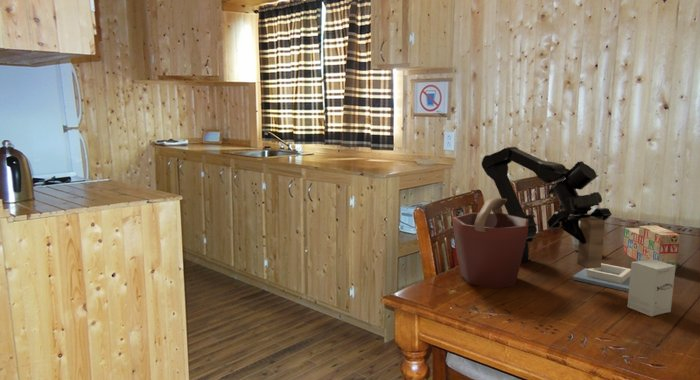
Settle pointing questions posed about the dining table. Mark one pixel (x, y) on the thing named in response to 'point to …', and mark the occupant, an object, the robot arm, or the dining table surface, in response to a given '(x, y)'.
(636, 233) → the stack of blocks
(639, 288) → the supplement box
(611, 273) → the socket
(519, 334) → the dining table surface
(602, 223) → the walnut pillar
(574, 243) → the lightbulb
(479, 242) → the bucket
